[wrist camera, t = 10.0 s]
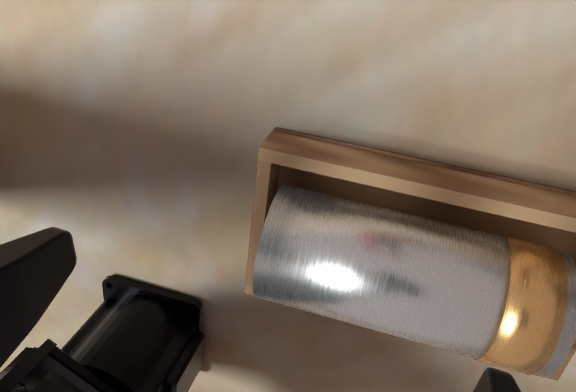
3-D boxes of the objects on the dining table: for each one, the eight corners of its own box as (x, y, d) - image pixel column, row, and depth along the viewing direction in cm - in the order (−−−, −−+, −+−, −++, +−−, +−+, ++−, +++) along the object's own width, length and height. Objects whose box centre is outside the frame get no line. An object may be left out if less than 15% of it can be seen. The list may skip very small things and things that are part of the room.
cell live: (280, 254, 25) (247, 322, 21) (293, 164, 23) (258, 221, 18) (538, 322, 23) (564, 415, 19) (586, 231, 20) (630, 314, 16)
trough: (259, 264, 26) (244, 293, 24) (275, 127, 22) (258, 147, 20) (546, 341, 24) (557, 380, 22) (623, 202, 20) (646, 234, 18)
